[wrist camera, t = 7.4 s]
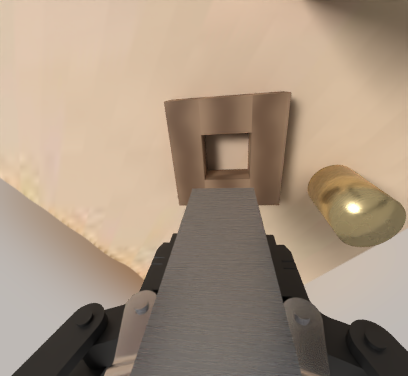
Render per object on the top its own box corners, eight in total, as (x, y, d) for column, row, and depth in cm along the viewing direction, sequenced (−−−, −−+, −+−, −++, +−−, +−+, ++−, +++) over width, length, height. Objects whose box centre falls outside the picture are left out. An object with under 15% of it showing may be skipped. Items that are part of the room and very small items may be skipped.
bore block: (283, 91, 25) (291, 92, 21) (273, 192, 31) (279, 205, 28) (171, 99, 26) (163, 101, 23) (184, 193, 33) (179, 205, 30)
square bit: (253, 187, 13) (331, 492, 3) (251, 236, 15) (297, 526, 5) (192, 188, 14) (103, 456, 4) (197, 235, 15) (145, 499, 6)
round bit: (362, 164, 28) (416, 196, 20) (350, 205, 30) (393, 247, 22) (311, 165, 28) (343, 197, 20) (304, 205, 31) (330, 246, 23)
